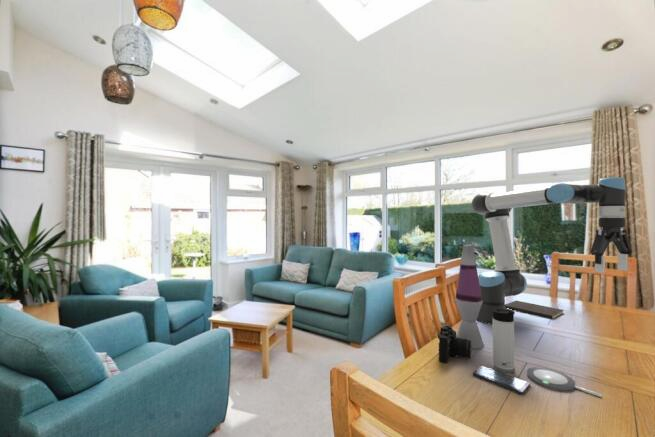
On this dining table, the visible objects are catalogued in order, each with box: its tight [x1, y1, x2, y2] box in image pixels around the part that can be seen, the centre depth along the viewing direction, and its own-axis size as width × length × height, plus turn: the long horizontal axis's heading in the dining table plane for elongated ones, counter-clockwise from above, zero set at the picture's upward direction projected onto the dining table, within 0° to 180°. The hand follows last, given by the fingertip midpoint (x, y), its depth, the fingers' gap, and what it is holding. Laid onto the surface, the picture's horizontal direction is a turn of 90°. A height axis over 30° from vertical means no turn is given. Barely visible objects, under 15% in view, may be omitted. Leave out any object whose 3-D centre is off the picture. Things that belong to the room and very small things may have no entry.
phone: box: [472, 365, 531, 396], centre depth 92 cm, size 14×7×1 cm, turn 40°
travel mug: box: [492, 309, 516, 374], centre depth 99 cm, size 6×7×20 cm
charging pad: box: [526, 366, 603, 398], centre depth 90 cm, size 18×12×1 cm
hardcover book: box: [505, 300, 565, 320], centre depth 161 cm, size 16×23×2 cm
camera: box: [437, 324, 472, 364], centre depth 108 cm, size 14×11×10 cm
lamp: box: [454, 244, 485, 350], centre depth 120 cm, size 11×11×40 cm
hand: (611, 271), depth 115 cm, fingers open, 13 cm apart
